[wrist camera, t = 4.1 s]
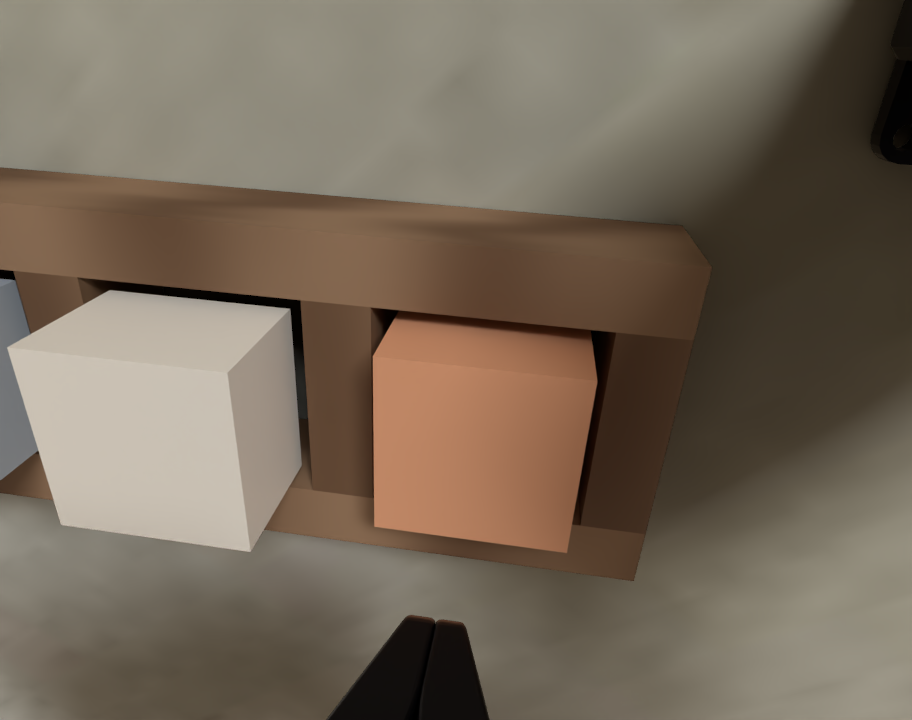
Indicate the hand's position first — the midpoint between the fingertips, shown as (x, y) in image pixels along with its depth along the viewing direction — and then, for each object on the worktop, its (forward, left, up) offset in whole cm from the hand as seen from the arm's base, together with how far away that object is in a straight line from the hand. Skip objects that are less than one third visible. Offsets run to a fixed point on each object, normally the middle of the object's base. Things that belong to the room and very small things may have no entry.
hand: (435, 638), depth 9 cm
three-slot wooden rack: (+6, 0, -9) cm, 11 cm away
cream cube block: (+6, 0, -6) cm, 9 cm away
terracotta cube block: (0, 0, -7) cm, 7 cm away
